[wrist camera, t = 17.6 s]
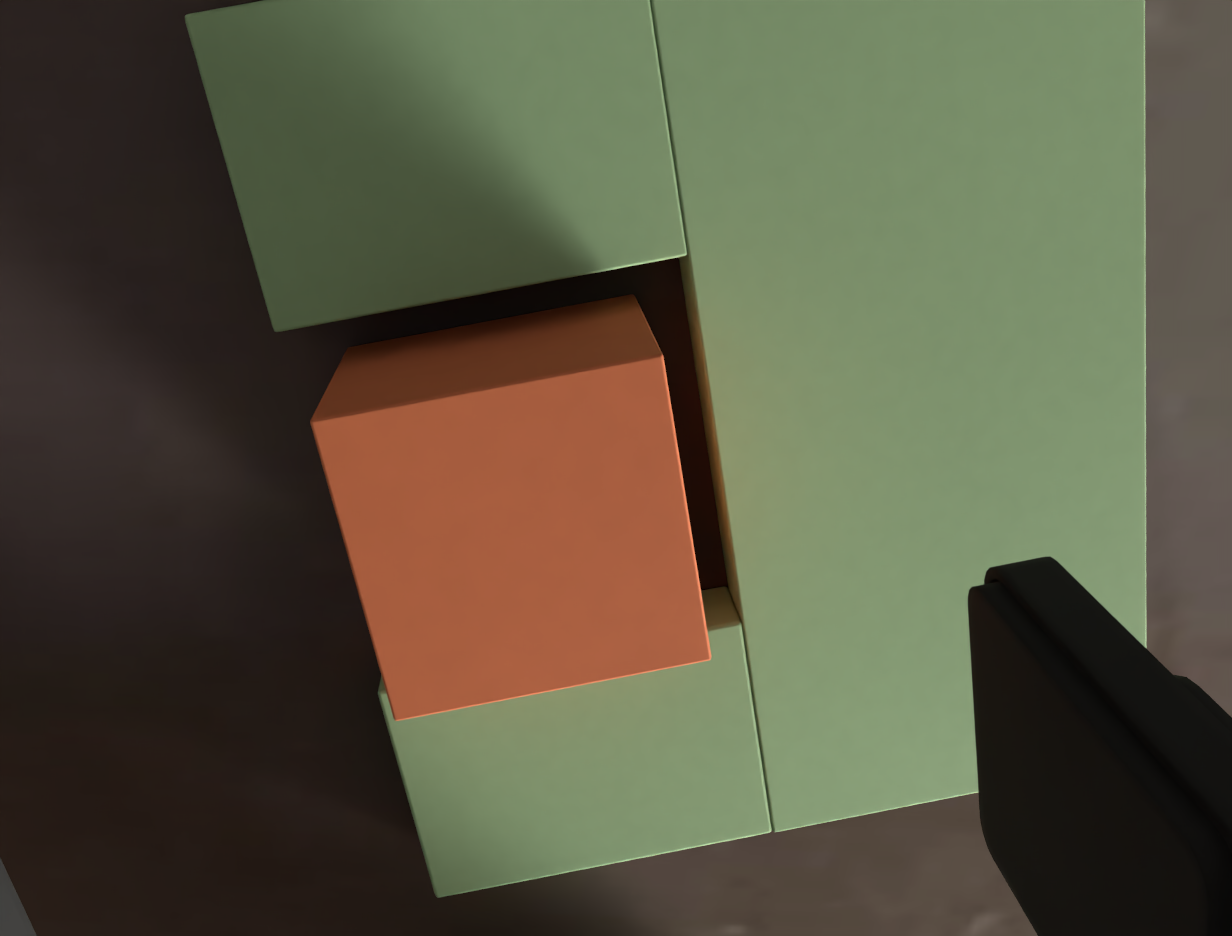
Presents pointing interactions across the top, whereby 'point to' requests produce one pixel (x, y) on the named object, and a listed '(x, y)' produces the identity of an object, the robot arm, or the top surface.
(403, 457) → the orange block
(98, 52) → the top surface
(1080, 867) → the robot arm
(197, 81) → the top surface
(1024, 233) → the green u-shaped slab
